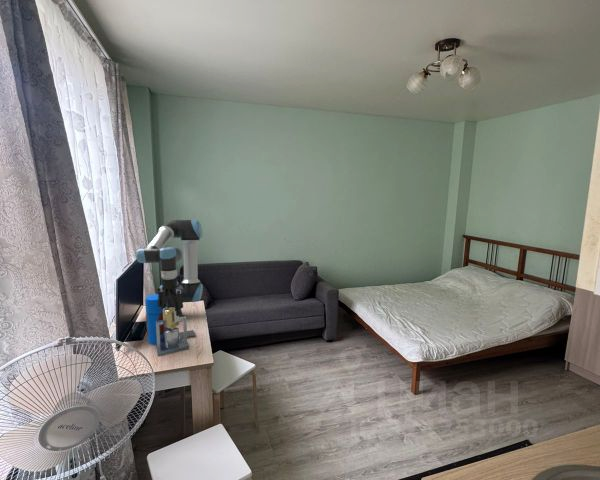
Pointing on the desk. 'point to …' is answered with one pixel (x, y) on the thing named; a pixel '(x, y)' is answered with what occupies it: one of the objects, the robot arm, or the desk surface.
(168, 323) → the brass cap
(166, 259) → the robot arm
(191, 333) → the rubber mat
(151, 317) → the thermos
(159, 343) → the grey metal stand
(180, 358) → the desk surface
